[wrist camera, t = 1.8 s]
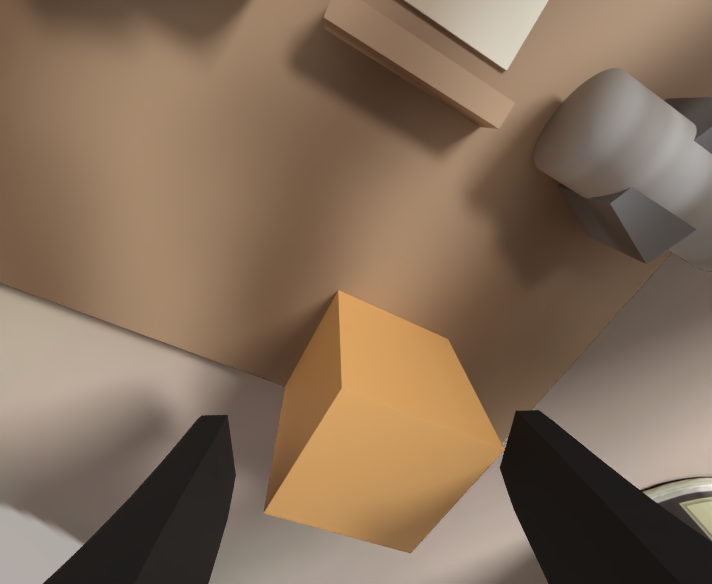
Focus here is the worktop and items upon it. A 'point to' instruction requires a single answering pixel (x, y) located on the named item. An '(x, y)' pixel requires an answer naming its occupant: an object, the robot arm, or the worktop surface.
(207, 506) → the robot arm
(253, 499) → the worktop surface
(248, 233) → the jig
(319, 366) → the light orange cube
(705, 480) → the coffee can
